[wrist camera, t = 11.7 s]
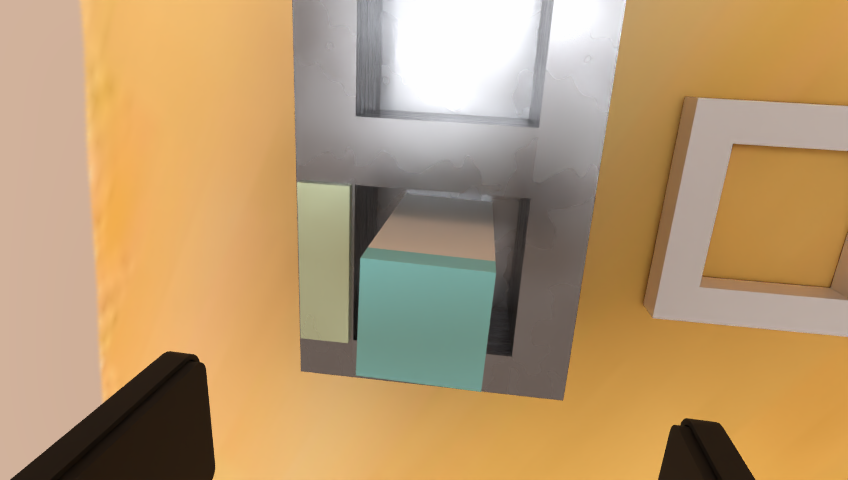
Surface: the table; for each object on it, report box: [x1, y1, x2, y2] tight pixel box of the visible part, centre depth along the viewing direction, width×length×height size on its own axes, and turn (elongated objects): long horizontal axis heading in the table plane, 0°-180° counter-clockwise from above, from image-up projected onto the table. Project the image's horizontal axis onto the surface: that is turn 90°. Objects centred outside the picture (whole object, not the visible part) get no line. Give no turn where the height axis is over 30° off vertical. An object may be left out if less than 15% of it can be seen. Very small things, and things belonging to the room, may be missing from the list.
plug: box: [356, 194, 496, 392], centre depth 20 cm, size 4×4×9 cm
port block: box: [292, 0, 626, 400], centre depth 21 cm, size 11×19×6 cm, turn 177°
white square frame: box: [643, 97, 848, 337], centre depth 23 cm, size 10×10×2 cm
